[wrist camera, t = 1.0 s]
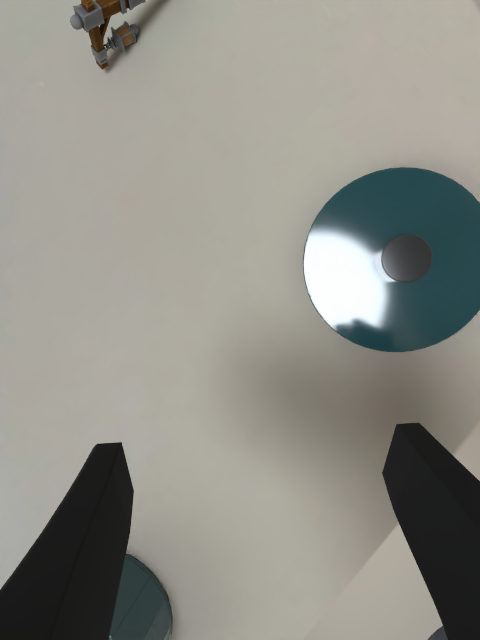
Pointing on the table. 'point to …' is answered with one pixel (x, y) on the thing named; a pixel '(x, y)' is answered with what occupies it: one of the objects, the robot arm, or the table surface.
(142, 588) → the tin
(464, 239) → the lid
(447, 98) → the table surface
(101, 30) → the wooden post with brackets
